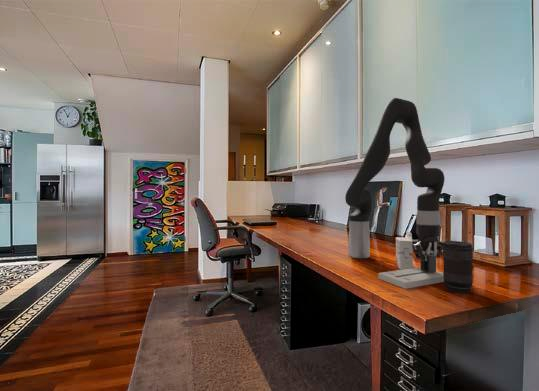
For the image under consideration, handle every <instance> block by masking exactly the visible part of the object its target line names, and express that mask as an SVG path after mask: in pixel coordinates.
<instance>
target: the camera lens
mask: <svg viewBox="0 0 539 391" xmlns="http://www.w3.org/2000/svg"><path fill="white" fill-rule="evenodd" d="M442 242H443V249H442V259H443V260H442V262H443V271H442V273H443V277H444V282H443V283H444V286H445V289H446V290H448V291H450V292H453V293H458V294H469V293H471V288H472V287H473V282H474V274H473V270H474V265H473V261H474V260H473V259H474V250H473V249H474V248H473V245H472V244H473V243H471V242H466V241H457V240H455V241H454V240H447V241H442Z"/></svg>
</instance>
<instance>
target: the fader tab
mask: <svg viewBox="0 0 539 391" xmlns="http://www.w3.org/2000/svg"><path fill="white" fill-rule="evenodd" d="M423 256H424V257H425V254H424V255H423ZM421 271H423V270H422V269H421ZM436 271H437V259H436V255H432V254H429V255H428V271H425V272H428V273H434V272H436Z"/></svg>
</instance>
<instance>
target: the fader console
mask: <svg viewBox="0 0 539 391" xmlns="http://www.w3.org/2000/svg"><path fill="white" fill-rule="evenodd" d="M378 279H379V280H381V281H384V282H387V283H389V284H392V285H394V286H397V287H399V288H401V289H412V288H418V287H423V286H428V285H434V284H439V283H444V277H443V271H442V272H441V271H439V270H436V272H434V273H428V272H425V271H421V266H419V267H413V268H410V269H403V270H402V269H397V270H392V271H391V270H389V271H383V272H378Z"/></svg>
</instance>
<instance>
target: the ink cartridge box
mask: <svg viewBox="0 0 539 391" xmlns="http://www.w3.org/2000/svg"><path fill="white" fill-rule="evenodd" d="M412 244H414V243H413V234H412V232H410V231H408V230H406V237H395V265H396V267H398V268H399V270H403V269H410V268H414V262H413V261H414V260H413V258H414V257H413V256H414V255H413V254H414V253H413V252H414V250H413V247H412Z"/></svg>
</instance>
